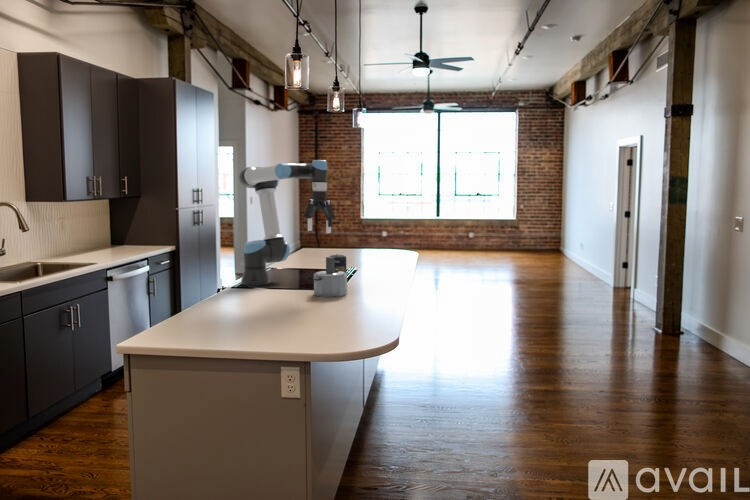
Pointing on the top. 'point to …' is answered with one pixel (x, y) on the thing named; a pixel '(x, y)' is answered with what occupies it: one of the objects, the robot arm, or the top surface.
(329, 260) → the lid
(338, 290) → the cooker pot
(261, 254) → the robot arm
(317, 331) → the top surface
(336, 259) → the canister
